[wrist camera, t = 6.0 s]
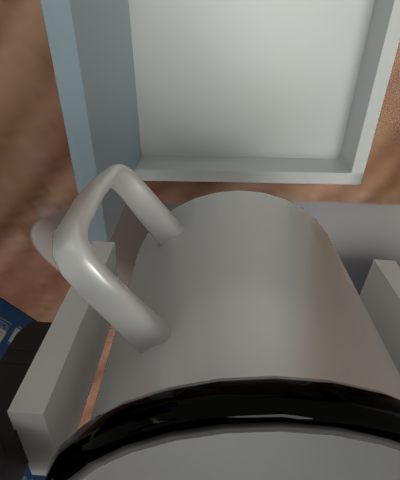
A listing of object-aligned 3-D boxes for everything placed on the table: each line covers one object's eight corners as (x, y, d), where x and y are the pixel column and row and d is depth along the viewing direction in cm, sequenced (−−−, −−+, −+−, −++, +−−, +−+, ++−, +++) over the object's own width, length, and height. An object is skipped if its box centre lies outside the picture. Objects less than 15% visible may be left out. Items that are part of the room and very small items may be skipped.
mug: (380, 300, 16) (536, 568, 8) (203, 373, 19) (200, 618, 11) (243, 47, 11) (326, 146, 3) (28, 204, 14) (-197, 450, 6)
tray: (131, 161, 27) (87, 244, 18) (98, -164, 18) (-30, -358, 8) (343, 164, 27) (416, 251, 17) (421, -165, 18) (666, -366, 8)
